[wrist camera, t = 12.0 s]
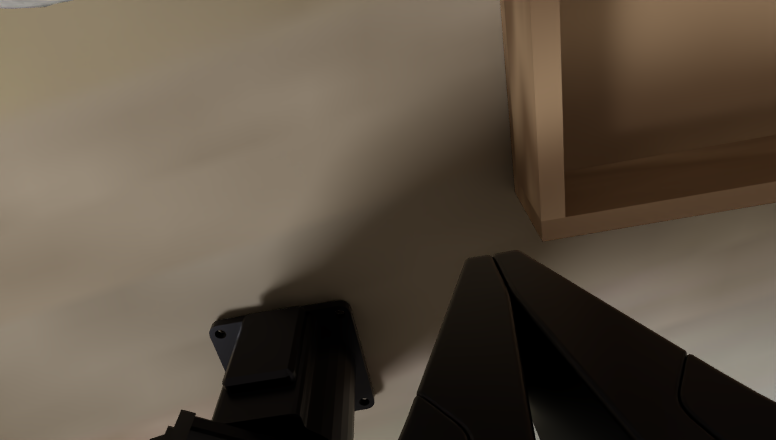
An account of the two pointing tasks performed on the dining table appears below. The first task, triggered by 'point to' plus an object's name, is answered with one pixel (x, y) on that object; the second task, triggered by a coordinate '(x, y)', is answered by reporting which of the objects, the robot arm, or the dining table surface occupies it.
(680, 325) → the dining table surface
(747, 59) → the wooden tray
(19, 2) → the teacup
